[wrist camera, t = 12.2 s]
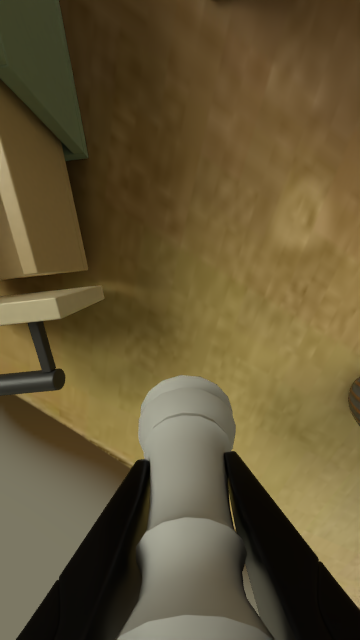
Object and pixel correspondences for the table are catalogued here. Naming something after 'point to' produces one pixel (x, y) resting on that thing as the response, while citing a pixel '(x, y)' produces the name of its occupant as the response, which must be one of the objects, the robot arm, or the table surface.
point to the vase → (355, 400)
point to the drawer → (36, 236)
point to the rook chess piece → (190, 522)
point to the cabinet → (41, 68)
